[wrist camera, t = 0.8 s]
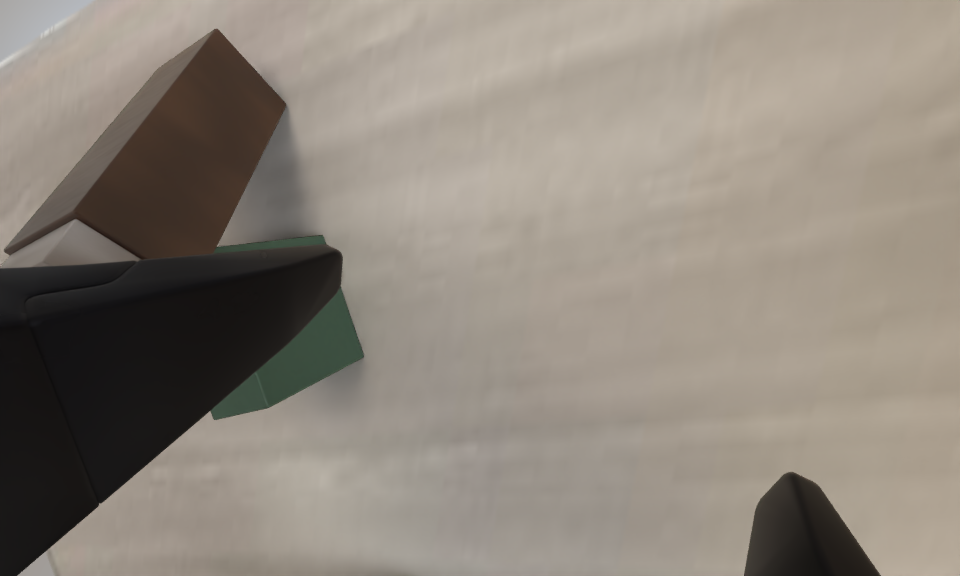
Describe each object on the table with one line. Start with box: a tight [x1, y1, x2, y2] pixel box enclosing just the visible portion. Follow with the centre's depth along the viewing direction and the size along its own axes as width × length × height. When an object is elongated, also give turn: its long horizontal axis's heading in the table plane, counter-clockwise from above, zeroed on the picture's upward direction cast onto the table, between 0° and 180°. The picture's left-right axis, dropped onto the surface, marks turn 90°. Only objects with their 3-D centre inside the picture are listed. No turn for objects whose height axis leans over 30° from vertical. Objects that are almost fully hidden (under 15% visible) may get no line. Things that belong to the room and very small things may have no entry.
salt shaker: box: [0, 29, 286, 268], centre depth 21 cm, size 13×4×13 cm, turn 19°
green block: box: [210, 235, 364, 420], centre depth 24 cm, size 7×3×7 cm, turn 19°
